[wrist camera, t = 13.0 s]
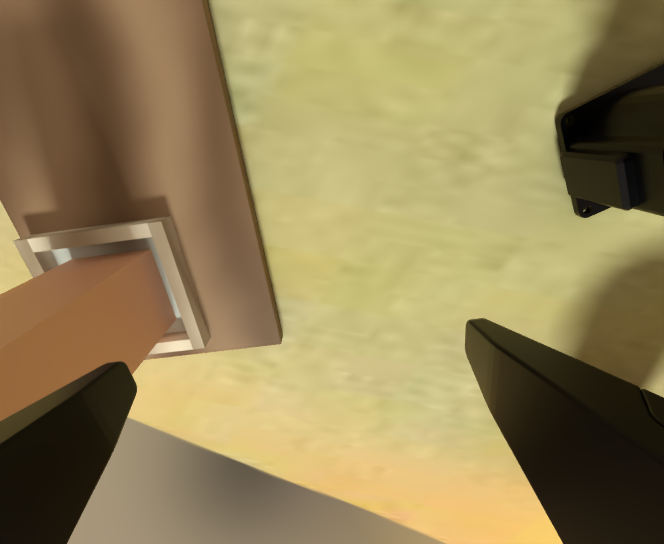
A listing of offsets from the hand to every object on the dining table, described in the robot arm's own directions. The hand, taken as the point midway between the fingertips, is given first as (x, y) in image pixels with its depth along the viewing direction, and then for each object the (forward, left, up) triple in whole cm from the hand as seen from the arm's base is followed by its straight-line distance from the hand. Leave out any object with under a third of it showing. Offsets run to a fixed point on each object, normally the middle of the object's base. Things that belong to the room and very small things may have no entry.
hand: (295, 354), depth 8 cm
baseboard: (+9, -6, -13) cm, 17 cm away
